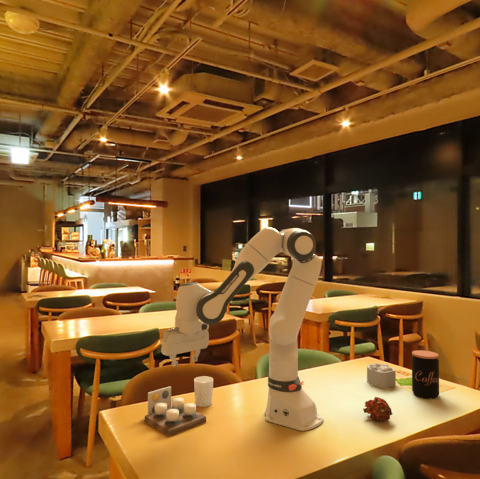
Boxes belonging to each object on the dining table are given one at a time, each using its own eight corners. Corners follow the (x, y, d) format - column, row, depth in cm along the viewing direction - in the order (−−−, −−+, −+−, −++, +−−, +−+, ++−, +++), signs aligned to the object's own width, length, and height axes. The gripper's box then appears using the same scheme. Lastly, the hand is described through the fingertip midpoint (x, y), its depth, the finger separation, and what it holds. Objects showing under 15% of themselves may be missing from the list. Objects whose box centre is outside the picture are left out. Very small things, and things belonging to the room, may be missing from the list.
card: (171, 409, 155) (171, 386, 155) (149, 417, 148) (149, 393, 148) (170, 409, 156) (170, 386, 156) (147, 416, 149) (147, 392, 149)
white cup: (210, 408, 157) (210, 383, 157) (191, 406, 158) (191, 381, 159) (215, 401, 164) (215, 376, 165) (197, 399, 166) (197, 375, 166)
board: (206, 422, 144) (206, 416, 144) (169, 436, 133) (169, 429, 133) (180, 409, 156) (180, 403, 156) (144, 421, 145) (144, 415, 145)
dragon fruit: (389, 431, 141) (366, 422, 152) (402, 413, 144) (379, 406, 155) (376, 413, 140) (354, 406, 151) (389, 395, 143) (367, 389, 154)
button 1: (198, 412, 145) (198, 405, 145) (188, 415, 141) (188, 408, 142) (191, 408, 148) (191, 402, 148) (181, 412, 145) (181, 405, 145)
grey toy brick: (382, 389, 178) (382, 370, 179) (361, 380, 190) (361, 362, 190) (398, 385, 183) (398, 366, 184) (376, 377, 195) (376, 359, 195)
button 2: (181, 418, 139) (181, 411, 139) (170, 422, 136) (170, 415, 136) (174, 414, 142) (174, 407, 142) (163, 418, 139) (163, 411, 139)
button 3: (186, 406, 150) (186, 399, 150) (176, 409, 147) (176, 402, 147) (179, 403, 153) (179, 396, 153) (169, 406, 150) (169, 399, 150)
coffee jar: (412, 397, 169) (412, 355, 169) (411, 389, 178) (411, 349, 179) (440, 401, 165) (440, 357, 165) (438, 392, 174) (437, 351, 175)
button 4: (169, 412, 145) (169, 405, 145) (158, 415, 142) (158, 408, 142) (162, 408, 148) (162, 401, 148) (152, 411, 145) (152, 405, 145)
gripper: (169, 331, 136) (167, 371, 136) (212, 324, 151) (210, 360, 151) (158, 327, 140) (156, 366, 140) (201, 321, 156) (199, 357, 155)
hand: (184, 363), depth 146 cm, fingers open, 8 cm apart
